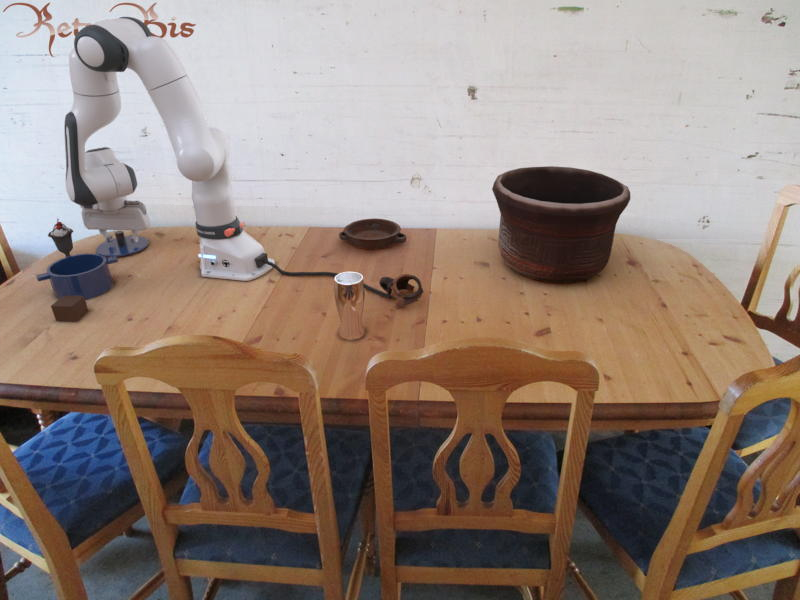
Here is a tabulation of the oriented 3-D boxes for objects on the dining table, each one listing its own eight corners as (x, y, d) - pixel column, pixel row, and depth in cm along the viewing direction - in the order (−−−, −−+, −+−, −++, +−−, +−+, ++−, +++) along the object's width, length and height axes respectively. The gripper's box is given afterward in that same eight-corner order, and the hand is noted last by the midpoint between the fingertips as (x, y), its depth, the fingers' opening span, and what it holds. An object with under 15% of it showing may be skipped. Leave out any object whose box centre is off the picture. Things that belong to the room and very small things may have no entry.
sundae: (72, 268, 171) (57, 221, 164) (53, 267, 172) (37, 220, 165) (87, 259, 177) (73, 213, 170) (68, 258, 178) (53, 212, 171)
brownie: (88, 310, 149) (83, 295, 147) (76, 321, 144) (71, 306, 142) (68, 310, 150) (63, 295, 147) (56, 321, 145) (50, 305, 143)
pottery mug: (423, 292, 157) (428, 275, 150) (414, 320, 152) (419, 305, 145) (382, 278, 157) (385, 261, 150) (371, 306, 152) (373, 290, 145)
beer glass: (337, 326, 141) (333, 271, 134) (366, 325, 141) (363, 270, 134) (337, 342, 135) (332, 285, 127) (366, 340, 135) (364, 284, 128)
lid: (155, 250, 183) (151, 233, 180) (102, 263, 175) (97, 246, 172) (142, 235, 194) (138, 219, 191) (92, 246, 186) (87, 230, 183)
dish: (344, 230, 194) (343, 217, 192) (409, 232, 192) (409, 218, 190) (334, 252, 179) (332, 237, 177) (404, 254, 177) (404, 239, 175)
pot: (128, 288, 160) (122, 264, 156) (48, 309, 150) (39, 284, 146) (116, 269, 170) (110, 246, 167) (40, 288, 160) (32, 264, 157)
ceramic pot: (472, 281, 161) (477, 195, 148) (502, 234, 190) (508, 159, 178) (610, 304, 148) (628, 213, 136) (620, 250, 178) (635, 171, 166)
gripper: (148, 197, 179) (158, 238, 185) (85, 196, 180) (97, 237, 187) (138, 204, 173) (149, 246, 180) (74, 203, 175) (87, 245, 181)
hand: (122, 241), depth 183 cm, fingers open, 7 cm apart
